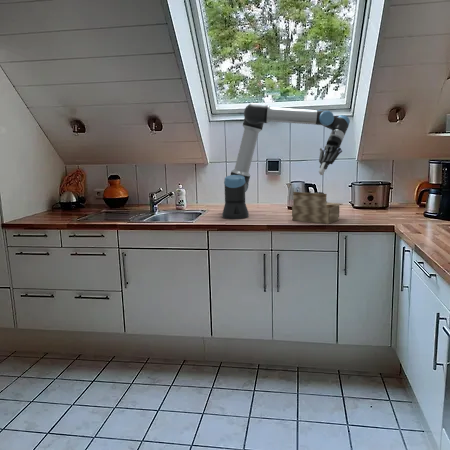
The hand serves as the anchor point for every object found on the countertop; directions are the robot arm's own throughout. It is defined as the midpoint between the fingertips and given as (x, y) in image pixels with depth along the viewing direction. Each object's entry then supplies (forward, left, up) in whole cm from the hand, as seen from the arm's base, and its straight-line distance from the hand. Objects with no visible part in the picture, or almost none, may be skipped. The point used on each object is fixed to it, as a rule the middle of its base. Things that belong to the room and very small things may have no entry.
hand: (320, 173), depth 240 cm
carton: (0, -3, -24) cm, 25 cm away
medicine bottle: (-10, +17, -25) cm, 31 cm away
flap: (0, -13, -16) cm, 21 cm away
